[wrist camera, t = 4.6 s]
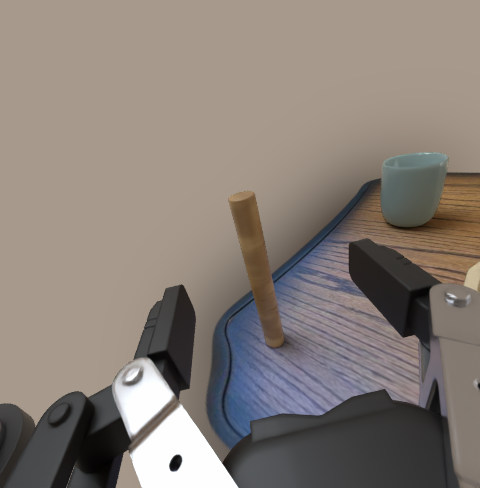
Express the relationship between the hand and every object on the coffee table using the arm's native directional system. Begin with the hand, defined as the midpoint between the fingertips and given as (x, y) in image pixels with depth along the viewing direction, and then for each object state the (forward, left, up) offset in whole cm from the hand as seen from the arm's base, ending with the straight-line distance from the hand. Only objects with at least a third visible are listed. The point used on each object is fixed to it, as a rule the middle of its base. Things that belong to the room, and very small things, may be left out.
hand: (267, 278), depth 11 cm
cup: (+33, +13, -14) cm, 38 cm away
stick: (+3, +7, -14) cm, 16 cm away
